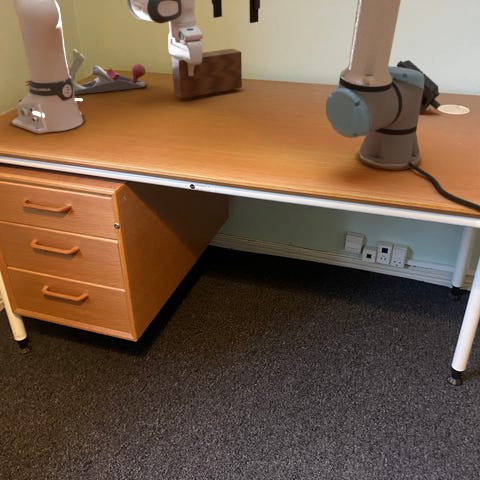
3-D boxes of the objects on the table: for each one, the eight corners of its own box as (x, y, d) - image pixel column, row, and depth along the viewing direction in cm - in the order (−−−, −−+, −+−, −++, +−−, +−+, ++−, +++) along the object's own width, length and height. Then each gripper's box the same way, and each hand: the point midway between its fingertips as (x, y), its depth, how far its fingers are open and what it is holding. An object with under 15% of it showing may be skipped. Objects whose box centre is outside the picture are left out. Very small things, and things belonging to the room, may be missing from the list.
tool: (378, 91, 179) (405, 54, 169) (421, 128, 175) (451, 93, 164) (370, 95, 176) (396, 58, 165) (413, 134, 171) (443, 98, 161)
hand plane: (62, 90, 197) (53, 48, 189) (145, 82, 205) (140, 41, 197) (62, 96, 191) (54, 53, 184) (148, 87, 199) (143, 45, 191)
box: (233, 83, 196) (233, 48, 190) (241, 87, 192) (241, 51, 185) (174, 93, 187) (171, 56, 180) (181, 98, 182) (178, 60, 176)
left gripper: (162, 26, 181) (165, 67, 189) (186, 36, 166) (189, 81, 173) (179, 24, 184) (182, 65, 191) (204, 34, 169) (206, 78, 176)
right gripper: (189, -70, 140) (194, 16, 151) (261, -69, 125) (261, 26, 137) (209, -71, 144) (212, 13, 156) (281, -70, 130) (279, 22, 141)
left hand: (185, 73), depth 182 cm, fingers closed on box, 6 cm apart
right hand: (235, 19), depth 146 cm, fingers open, 13 cm apart
